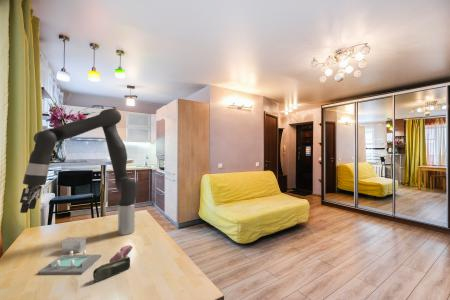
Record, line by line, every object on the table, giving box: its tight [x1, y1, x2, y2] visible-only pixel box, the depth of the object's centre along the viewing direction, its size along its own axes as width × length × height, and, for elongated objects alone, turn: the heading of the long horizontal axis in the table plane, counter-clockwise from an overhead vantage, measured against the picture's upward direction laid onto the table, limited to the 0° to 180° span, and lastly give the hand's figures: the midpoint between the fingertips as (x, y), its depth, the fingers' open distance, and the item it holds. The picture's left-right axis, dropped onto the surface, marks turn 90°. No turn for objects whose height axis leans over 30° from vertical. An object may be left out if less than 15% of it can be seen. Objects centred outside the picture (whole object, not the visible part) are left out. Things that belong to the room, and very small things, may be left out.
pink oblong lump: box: [108, 244, 133, 263], centre depth 94 cm, size 10×5×7 cm, turn 169°
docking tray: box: [37, 250, 102, 275], centre depth 89 cm, size 13×18×4 cm
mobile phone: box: [89, 256, 131, 285], centre depth 82 cm, size 5×3×15 cm
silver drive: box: [61, 236, 87, 254], centre depth 101 cm, size 4×9×6 cm, turn 91°
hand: (27, 210), depth 88 cm, fingers open, 8 cm apart
